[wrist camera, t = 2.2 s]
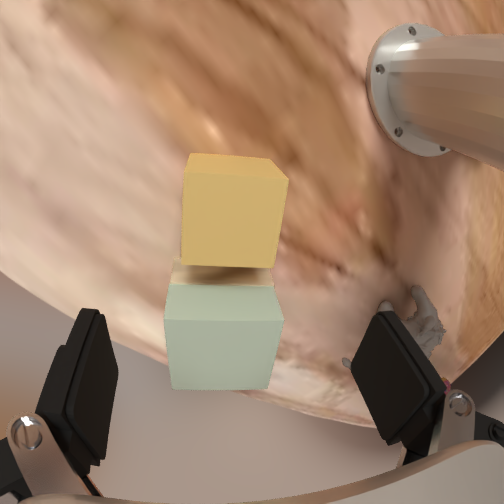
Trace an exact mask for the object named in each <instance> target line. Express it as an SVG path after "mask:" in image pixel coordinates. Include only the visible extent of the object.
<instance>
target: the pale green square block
mask: <svg viewBox="0 0 504 504" xmlns="http://www.w3.org/2000/svg"><path fill="white" fill-rule="evenodd" d="M283 324H284V318H283V315H282V312H281V308H280V305H279V302H278V299H277V296H276V293H275V290H274V287H273V286H219V285H184V284H169V288H168V294H167V300H166V306H165V313H164V329H165V338H166V347H167V356H168V363H169V371H170V378H171V385H172V389H174V390H255V389H267V388H268V385H269V381H270V377H271V373H272V369H273V365H274V361H275V357H276V353H277V349H278V345H279V341H280V337H281V332H282V328H283Z"/></svg>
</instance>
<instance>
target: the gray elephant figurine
mask: <svg viewBox="0 0 504 504" xmlns="http://www.w3.org/2000/svg"><path fill="white" fill-rule="evenodd" d="M411 295H412V297H413V299H414V300H415V302H416V304H417V311H416V312H415V313H414V316H411V317H408V320H403V321H402V320H401V319H400V318H399V317H398V318H399V319H400V320H401V322H402V323H403V324H404V326H405V327H406V329H407V330H408V331H409V333H410V334H411V335H412V337H413V338H414V340H415V341H416V342H417V344H418V345H419V347H420V348H421V350H422V351H423V352H424V354H425V355H426V357H427V358H428V359H429V357H430V356H431V351H432V350H434V347H435V346H436V345H438V344H441V341H442V337H443V335H444V334H443V333H445V332H446V330H445V329H443V325H442V324H441V321H440V320H439V319H438V315H437V310H436V308H435V307H434V306H433V304H432V303H431V301H430V300H429V298H428V297H427V295H426V293H425V291H424V290H423V288H422V287H421V286H419V285H414V286H413V287H412V289H411ZM390 310H391V311H394V308H393V306H392V304H391V303H390V302H388V301H383V302H382V303H381V304H380V305H379V307H378V312H379V311H390ZM394 312H395V311H394ZM395 314H396V313H395ZM342 363H343V365H344V366H345V367H348V368H349V369H350V366H351V362H350V360H349V359H347V358H343V359H342ZM350 370H351V369H350Z"/></svg>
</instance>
